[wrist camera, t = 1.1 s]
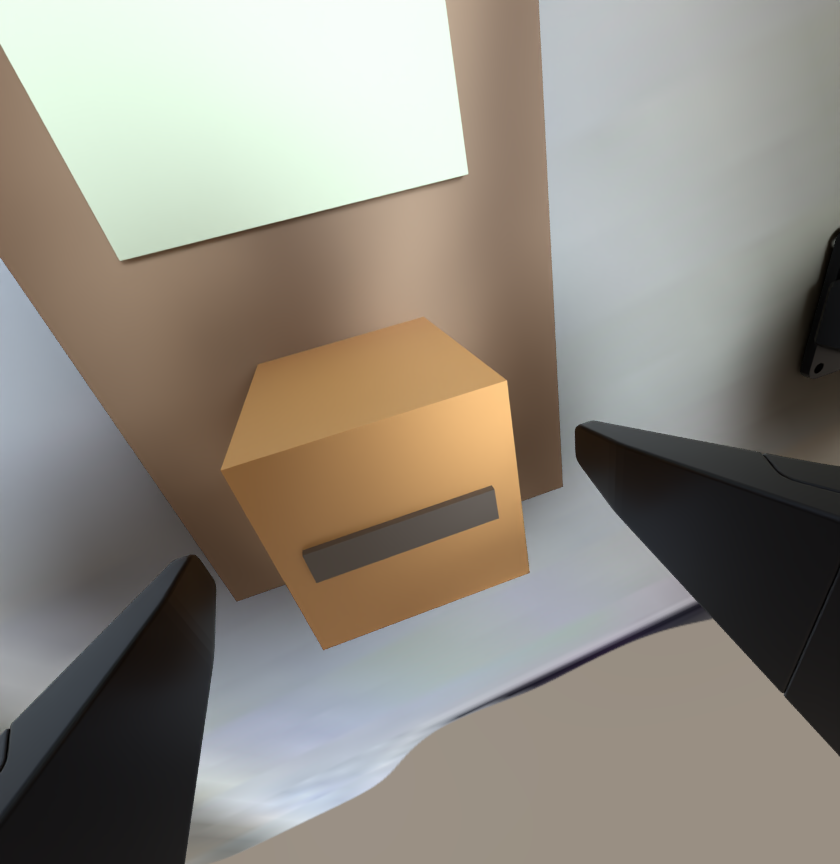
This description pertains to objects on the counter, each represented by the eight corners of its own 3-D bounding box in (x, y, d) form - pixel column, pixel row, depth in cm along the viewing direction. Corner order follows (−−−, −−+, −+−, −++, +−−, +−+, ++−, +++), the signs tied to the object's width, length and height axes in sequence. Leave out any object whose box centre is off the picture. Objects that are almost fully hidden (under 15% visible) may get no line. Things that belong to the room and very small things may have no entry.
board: (484, -492, 7) (509, -589, 6) (550, 474, 18) (562, 486, 17) (-433, -446, 6) (-565, -566, 5) (240, 582, 16) (236, 601, 16)
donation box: (423, 316, 12) (510, 383, 7) (452, 453, 15) (532, 577, 10) (257, 364, 12) (218, 475, 7) (317, 498, 14) (323, 656, 9)
